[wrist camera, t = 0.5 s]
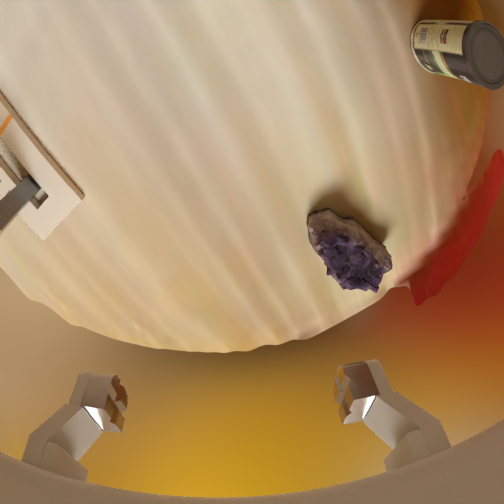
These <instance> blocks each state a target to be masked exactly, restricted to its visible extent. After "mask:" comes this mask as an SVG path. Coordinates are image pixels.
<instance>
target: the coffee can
mask: <svg viewBox="0 0 504 504" xmlns="http://www.w3.org/2000/svg"><path fill="white" fill-rule="evenodd" d="M410 42H411V49H412V52H413V55H414V57H415V59H416V60H417V62H418V63H419V64H420V65H421V66H422V67H423V68H424V69H425V70H427V71H429V72H431V73H435V74H441V75H445V76H449V77H453V78H457V79H460V80H464V81H467V82H470V83H474V84H477V85H480V86H482V87H484V88H487V89H490V90H495V89H499V88H500V87H502V86H503V84H504V37H503V36H502V34H501V33H500V31H499V30H498V29H497V28H496V27H495V26H494V25H492V24H491V23H489V22H486V21H465V20H428V19H427V20H422V21H420V22H418V23H417V24H416V25H415V26H414V27H413V30H412V32H411V38H410Z"/></svg>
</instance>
